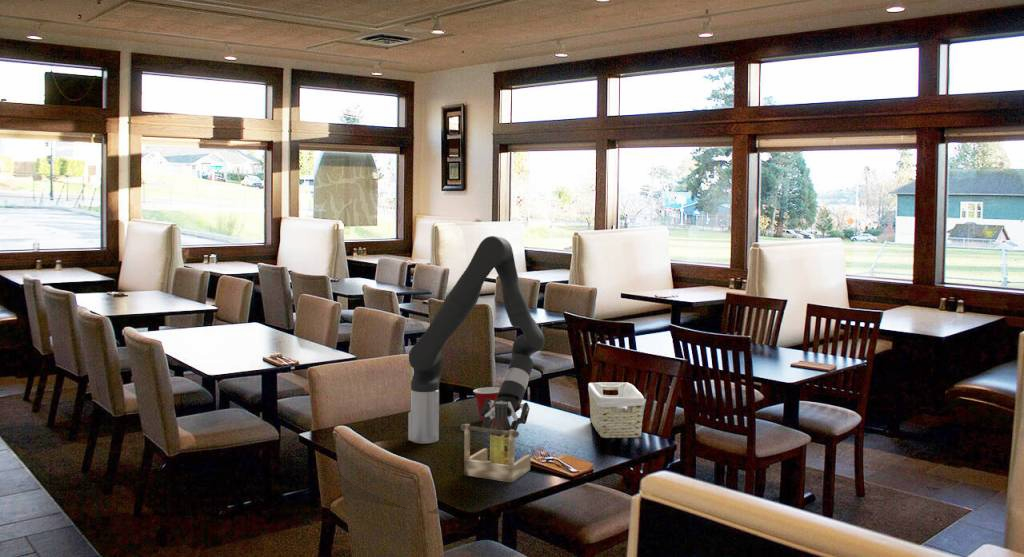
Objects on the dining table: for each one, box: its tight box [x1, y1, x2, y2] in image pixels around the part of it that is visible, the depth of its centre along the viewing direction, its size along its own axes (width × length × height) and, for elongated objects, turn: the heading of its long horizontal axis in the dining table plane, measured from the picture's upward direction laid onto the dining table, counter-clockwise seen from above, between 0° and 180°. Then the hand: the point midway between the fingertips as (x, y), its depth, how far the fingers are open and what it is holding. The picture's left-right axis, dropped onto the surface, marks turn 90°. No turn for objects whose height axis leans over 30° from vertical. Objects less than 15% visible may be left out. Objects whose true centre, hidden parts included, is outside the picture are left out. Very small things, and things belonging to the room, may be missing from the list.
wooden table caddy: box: [460, 423, 531, 483], centre depth 256 cm, size 18×14×15 cm
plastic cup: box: [472, 386, 500, 423], centre depth 315 cm, size 11×11×12 cm
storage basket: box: [587, 381, 646, 439], centre depth 306 cm, size 24×16×15 cm
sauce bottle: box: [489, 401, 511, 465], centre depth 257 cm, size 7×6×20 cm
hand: (497, 432), depth 256 cm, fingers open, 8 cm apart
